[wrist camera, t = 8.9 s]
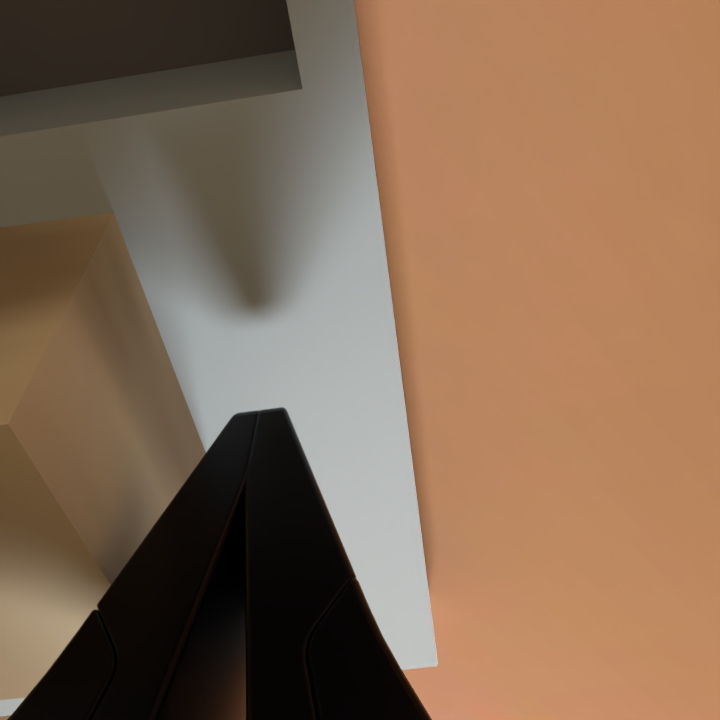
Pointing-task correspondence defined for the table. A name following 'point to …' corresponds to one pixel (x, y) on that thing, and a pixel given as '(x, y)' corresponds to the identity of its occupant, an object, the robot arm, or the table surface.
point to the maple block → (77, 432)
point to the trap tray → (237, 233)
